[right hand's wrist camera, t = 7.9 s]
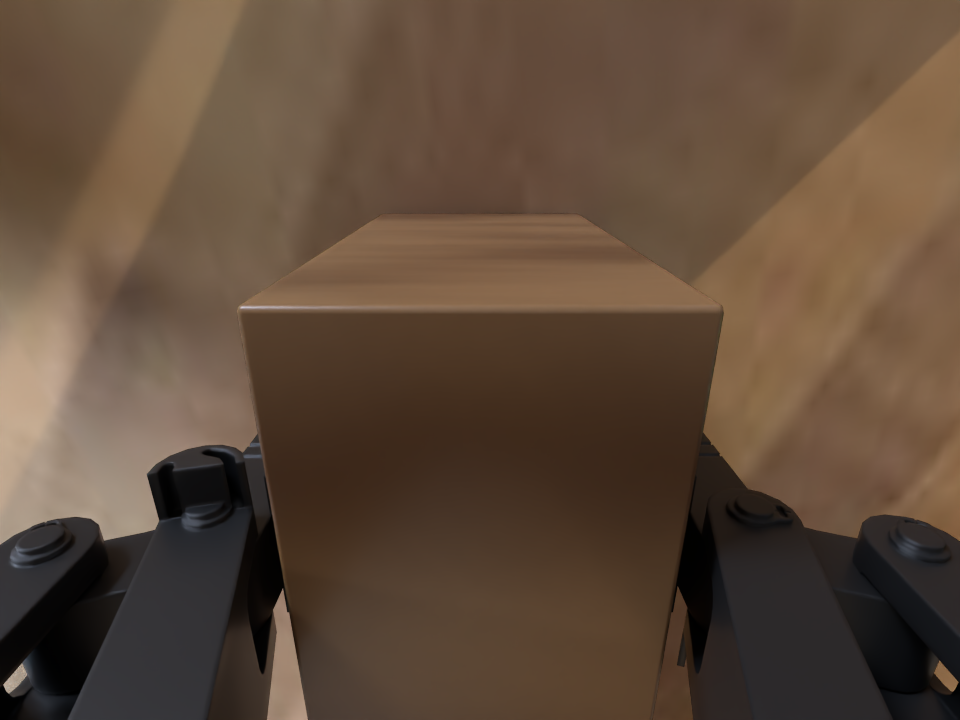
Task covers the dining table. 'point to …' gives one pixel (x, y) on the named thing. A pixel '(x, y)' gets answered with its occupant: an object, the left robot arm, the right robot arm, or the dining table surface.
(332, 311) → the post
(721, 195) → the dining table surface
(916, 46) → the dining table surface
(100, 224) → the dining table surface
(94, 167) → the dining table surface
